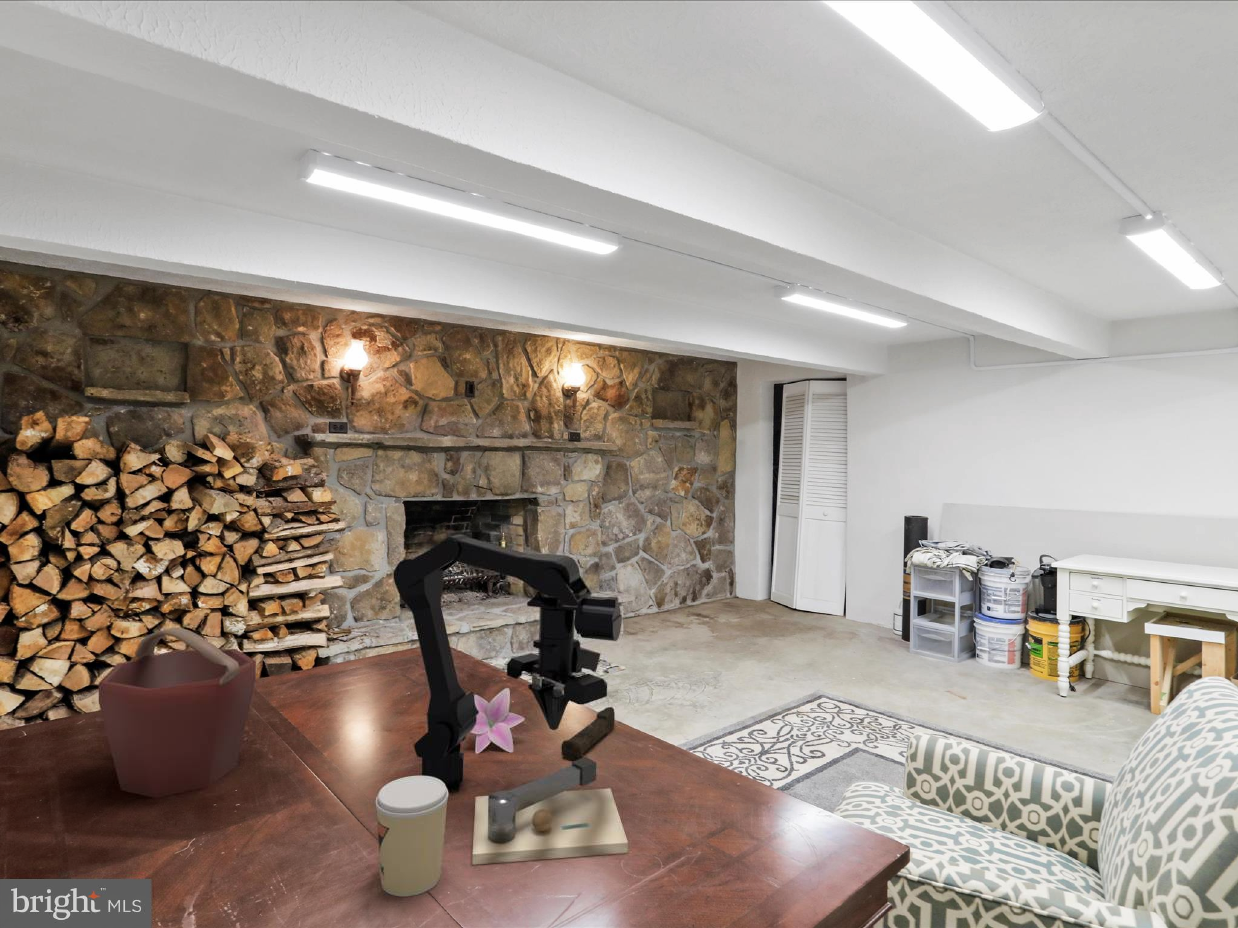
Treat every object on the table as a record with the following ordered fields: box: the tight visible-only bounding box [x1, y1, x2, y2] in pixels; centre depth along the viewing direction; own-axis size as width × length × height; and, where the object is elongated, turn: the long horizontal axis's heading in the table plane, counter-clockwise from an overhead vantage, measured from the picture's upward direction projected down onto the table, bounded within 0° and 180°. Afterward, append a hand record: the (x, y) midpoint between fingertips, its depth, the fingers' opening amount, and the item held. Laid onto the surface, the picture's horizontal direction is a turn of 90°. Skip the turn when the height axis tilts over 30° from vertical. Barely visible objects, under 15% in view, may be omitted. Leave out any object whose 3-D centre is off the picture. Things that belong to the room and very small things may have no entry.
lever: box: [488, 756, 597, 843], centre depth 109 cm, size 20×4×6 cm, turn 135°
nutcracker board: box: [471, 788, 629, 866], centre depth 108 cm, size 22×16×4 cm
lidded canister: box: [375, 775, 449, 898], centre depth 95 cm, size 9×9×12 cm
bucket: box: [98, 627, 257, 799], centre depth 122 cm, size 24×22×25 cm
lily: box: [470, 687, 525, 755], centre depth 138 cm, size 12×12×10 cm
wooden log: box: [560, 706, 616, 762], centre depth 140 cm, size 19×4×5 cm, turn 152°
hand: (553, 728), depth 116 cm, fingers closed
